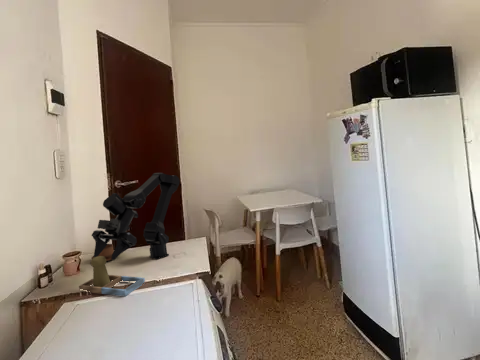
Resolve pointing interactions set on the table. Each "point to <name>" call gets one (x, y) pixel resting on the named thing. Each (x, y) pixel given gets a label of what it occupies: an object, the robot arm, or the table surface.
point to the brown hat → (107, 252)
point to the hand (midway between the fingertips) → (103, 258)
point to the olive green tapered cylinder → (99, 271)
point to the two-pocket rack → (113, 291)
